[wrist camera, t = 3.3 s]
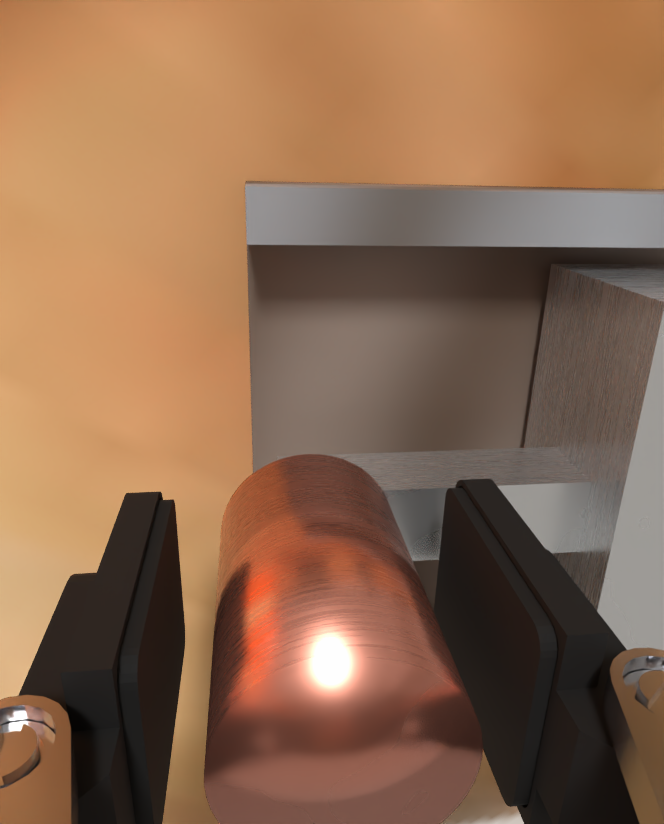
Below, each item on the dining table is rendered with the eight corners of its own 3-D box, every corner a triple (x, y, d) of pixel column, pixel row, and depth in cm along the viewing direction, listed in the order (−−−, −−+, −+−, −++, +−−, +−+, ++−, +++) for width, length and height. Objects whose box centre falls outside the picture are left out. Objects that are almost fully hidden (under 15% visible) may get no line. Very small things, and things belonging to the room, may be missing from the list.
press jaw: (679, 264, 14) (1167, 382, 7) (605, 597, 17) (872, 923, 10) (217, 262, 13) (175, 404, 5) (233, 621, 16) (221, 1017, 9)
